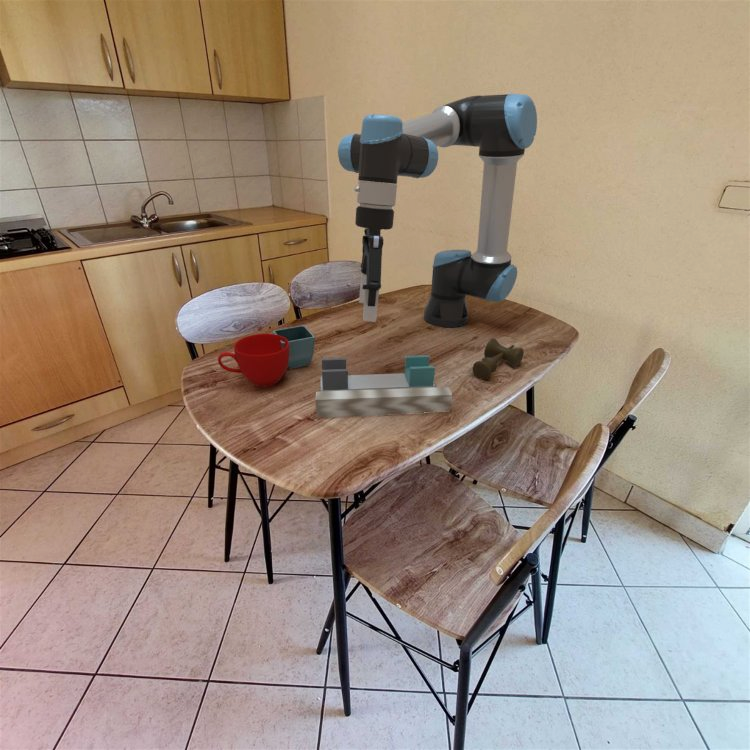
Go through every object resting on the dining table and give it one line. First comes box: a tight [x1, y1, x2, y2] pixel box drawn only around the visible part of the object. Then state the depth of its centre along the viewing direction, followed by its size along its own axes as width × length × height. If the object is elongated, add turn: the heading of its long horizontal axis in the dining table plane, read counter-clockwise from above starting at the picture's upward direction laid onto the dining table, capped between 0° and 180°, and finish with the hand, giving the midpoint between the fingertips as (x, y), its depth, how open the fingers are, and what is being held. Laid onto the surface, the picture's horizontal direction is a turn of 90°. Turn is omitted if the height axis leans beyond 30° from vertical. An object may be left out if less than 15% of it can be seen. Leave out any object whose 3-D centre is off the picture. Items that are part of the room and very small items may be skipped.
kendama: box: [472, 337, 525, 380], centre depth 118 cm, size 6×10×20 cm
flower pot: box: [272, 324, 316, 370], centre depth 115 cm, size 9×9×9 cm
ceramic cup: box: [217, 333, 289, 388], centre depth 106 cm, size 13×17×10 cm
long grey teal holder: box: [320, 354, 436, 391], centre depth 107 cm, size 28×7×6 cm, turn 97°
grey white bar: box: [315, 386, 453, 419], centre depth 97 cm, size 30×4×5 cm, turn 96°
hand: (367, 311), depth 94 cm, fingers open, 13 cm apart
